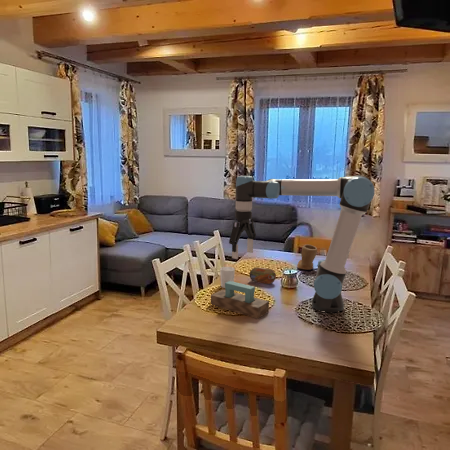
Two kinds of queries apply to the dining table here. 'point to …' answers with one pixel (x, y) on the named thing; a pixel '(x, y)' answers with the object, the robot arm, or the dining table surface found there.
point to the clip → (246, 289)
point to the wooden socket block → (240, 304)
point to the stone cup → (307, 257)
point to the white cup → (226, 275)
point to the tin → (262, 275)
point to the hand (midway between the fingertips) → (242, 255)
